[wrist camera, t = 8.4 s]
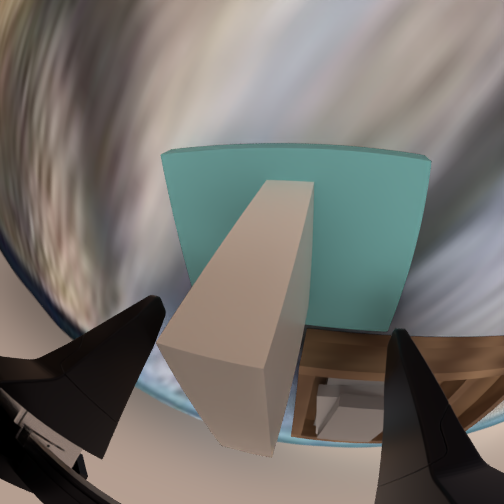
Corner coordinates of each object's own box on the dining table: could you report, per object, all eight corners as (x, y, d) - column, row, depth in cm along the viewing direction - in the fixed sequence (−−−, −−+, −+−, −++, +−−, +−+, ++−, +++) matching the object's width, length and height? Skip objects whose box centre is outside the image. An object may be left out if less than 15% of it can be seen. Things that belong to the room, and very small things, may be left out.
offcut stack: (412, 365, 15) (414, 401, 13) (371, 420, 21) (369, 446, 19) (323, 359, 17) (317, 397, 15) (309, 416, 23) (304, 442, 21)
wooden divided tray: (530, 333, 11) (540, 361, 9) (456, 415, 20) (457, 436, 17) (307, 328, 17) (299, 365, 15) (296, 412, 25) (290, 436, 23)
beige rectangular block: (314, 181, 11) (263, 368, 4) (308, 305, 14) (271, 457, 8) (266, 179, 11) (155, 342, 4) (272, 301, 15) (221, 445, 8)
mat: (424, 155, 9) (431, 161, 8) (386, 319, 15) (387, 331, 14) (171, 149, 13) (160, 154, 12) (204, 297, 18) (198, 308, 17)
